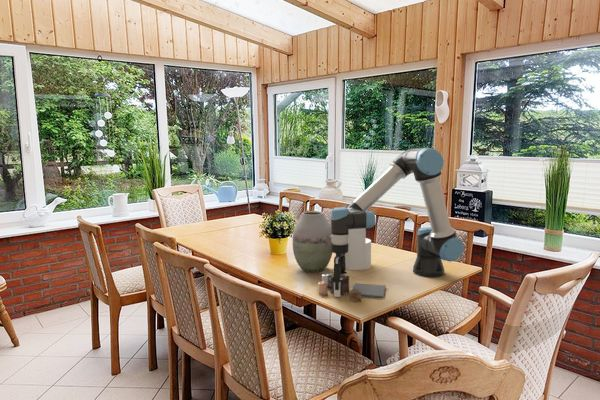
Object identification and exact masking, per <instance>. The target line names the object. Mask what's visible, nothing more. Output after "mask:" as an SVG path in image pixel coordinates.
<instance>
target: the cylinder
mask: <svg viewBox="0 0 600 400" xmlns="http://www.w3.org/2000/svg"><path fill="white" fill-rule="evenodd" d="M366 234H367V233H366V228H362V229H349V242H348V252H347V253H345V265H346V271H364V270H368V269H370V268H371V266H372V240H371V239H370V238H367V237H366V236H367V235H366Z"/></svg>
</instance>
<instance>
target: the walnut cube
mask: <svg viewBox="0 0 600 400" xmlns="http://www.w3.org/2000/svg"><path fill="white" fill-rule="evenodd" d="M349 298H350V302H351V303H361V302H362V297H361V291H360V289H355V290H352V289H349Z"/></svg>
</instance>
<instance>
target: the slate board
mask: <svg viewBox="0 0 600 400" xmlns="http://www.w3.org/2000/svg"><path fill="white" fill-rule="evenodd" d="M355 289H360V291H361V298H368V299H370V298H371V299H380V300H383V299H384V296H385V292H386V289H387V287H386V285H385V284H384V285H383V284H371V283H360V282H355V283H354V285H353V286H352V288H351V290H355Z"/></svg>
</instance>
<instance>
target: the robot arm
mask: <svg viewBox="0 0 600 400" xmlns="http://www.w3.org/2000/svg"><path fill="white" fill-rule="evenodd" d="M443 167H444V158H443V156H442V154H441V152H439V151H438V150H437V149H434V148H430V147H410V148H408V149H406V150H405V151H403V152H402V153H400V154H399V155H398V156H397V157H396V158H395V159H393V161H392V162H391V163H390V164H389V167H388V168H387V169H386V170H385V171H384V172H383V173H382V174H381V175H380V176H379V177H378V178H377V179H375V180H374V182H372V183H371V184H370V185H369V186H368V187H367V188H366V189H365V190H363V192H362V193H361V194H360V195H358V196H357V198H355V199H354V200H353V201H352V202H351V203H350V204H348V205H346V206H342V207H340V206H339V207H333V208H332V209H331V214H330V215H331V216H330V223H331V224H330V226H331V235H330V237H332V238H331V242H332V244H331V252H333V253H332V254H335V256H334V258H333V273H332V274H333V280H332V282H334V294H333V297H335V298H336V297H337V298H341V296H340V287H341V282H340V275H344V276H346V275H347V273H348V272H347V269H346V265H345V253H347V252H348V242H349V229H362V228H366V229H370V228H374V226H375V225H376V215H375V213H374V212H373V211H372V210H369V209H371V207H372V206H374V205H375V204H376V203H377V202H378V201H379V199H381V198H382V197H383V196H384V195H385V194H386V193H387V192H388V191H389V190H391V189H392V187H394V186H395V185H396V184H397V183H398V182H399V181H400V180H401V179H405V178H407V177H408V176H409V175H410V174H413V176H414V178H415V182H416V183H419V186H420V188H421V192H422V197H423V201H424V205H425V210H426V213H427V216H428V220H429V225H430V226H427V227H420V228H418V230H417V234H416V239H417V241H416V243H417V244H416V259H415V261H414V263H413V267H412V272H413V274H415V275H417V276H421V277H424V278H425V277H427V278H437V277H443V276H444V275H445V267H444V264H443V261H446V262H455V261H457V260H458V259H460V257H461V256H462V254H463V253H464V249H465V244H464V243H463V240H462V239H461V238H459V237H458V236H457V232H456V229H455V228H454V227H452V225H451V222H450V218H449V214H448V209H447V205H446V202H445V198H444V197H445V196H444V194H443V190H442V186H441V181H440V178H441V176H442V170H443ZM336 279H337V280H336Z"/></svg>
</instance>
